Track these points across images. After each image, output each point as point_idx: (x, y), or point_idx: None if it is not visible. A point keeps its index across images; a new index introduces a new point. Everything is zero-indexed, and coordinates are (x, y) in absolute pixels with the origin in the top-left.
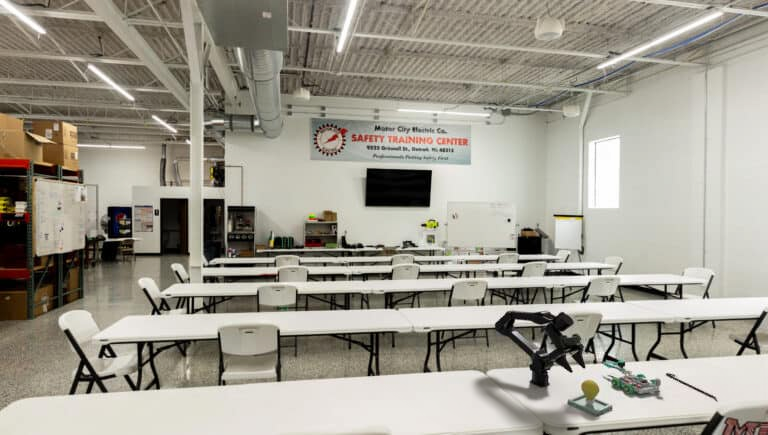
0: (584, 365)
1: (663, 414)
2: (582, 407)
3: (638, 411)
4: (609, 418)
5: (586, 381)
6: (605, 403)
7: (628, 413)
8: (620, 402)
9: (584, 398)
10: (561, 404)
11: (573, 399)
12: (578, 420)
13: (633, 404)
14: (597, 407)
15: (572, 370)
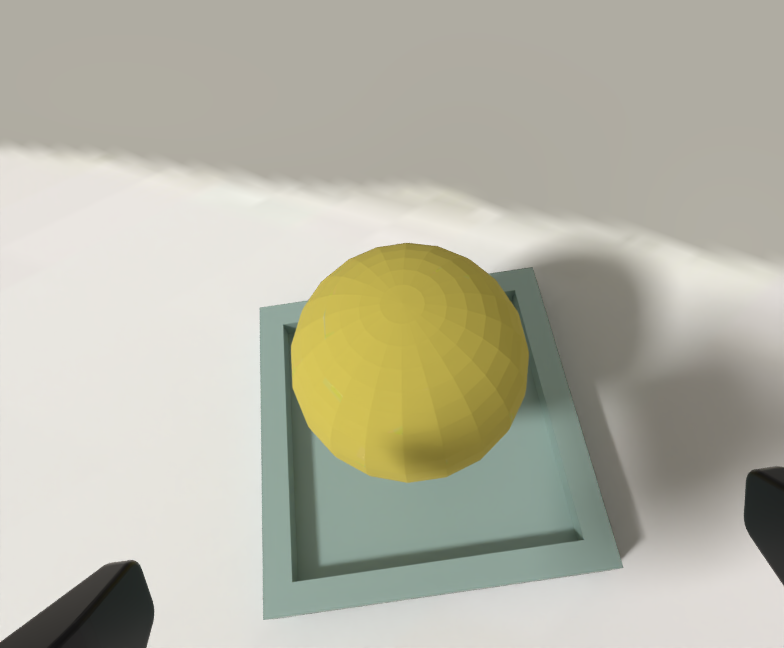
0: (93, 595)
1: (28, 163)
2: (564, 388)
3: (126, 234)
4: (443, 233)
5: (470, 336)
6: (283, 351)
7: (228, 237)
8: (78, 375)
9: (346, 550)
10: (706, 576)
11: (537, 547)
12: (734, 285)
13: (27, 314)
14: None
15: (776, 481)
